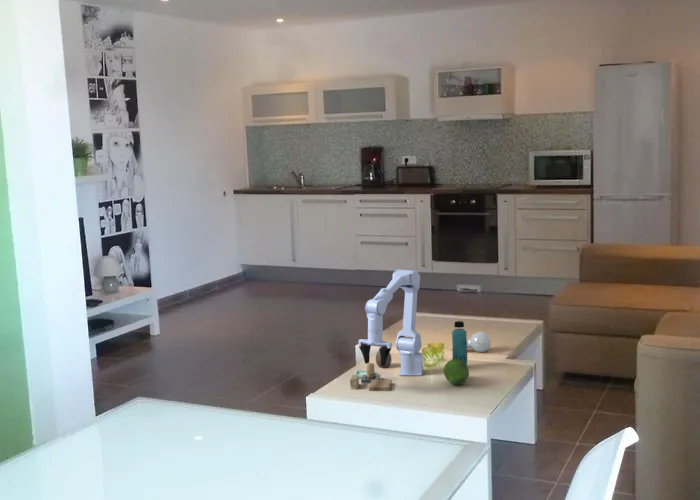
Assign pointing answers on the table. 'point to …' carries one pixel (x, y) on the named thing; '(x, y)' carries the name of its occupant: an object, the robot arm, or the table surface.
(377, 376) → the collar
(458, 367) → the fruit
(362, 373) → the tray
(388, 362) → the vase
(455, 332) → the beverage bottle
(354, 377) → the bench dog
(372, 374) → the dowel
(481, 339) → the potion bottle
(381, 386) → the board
